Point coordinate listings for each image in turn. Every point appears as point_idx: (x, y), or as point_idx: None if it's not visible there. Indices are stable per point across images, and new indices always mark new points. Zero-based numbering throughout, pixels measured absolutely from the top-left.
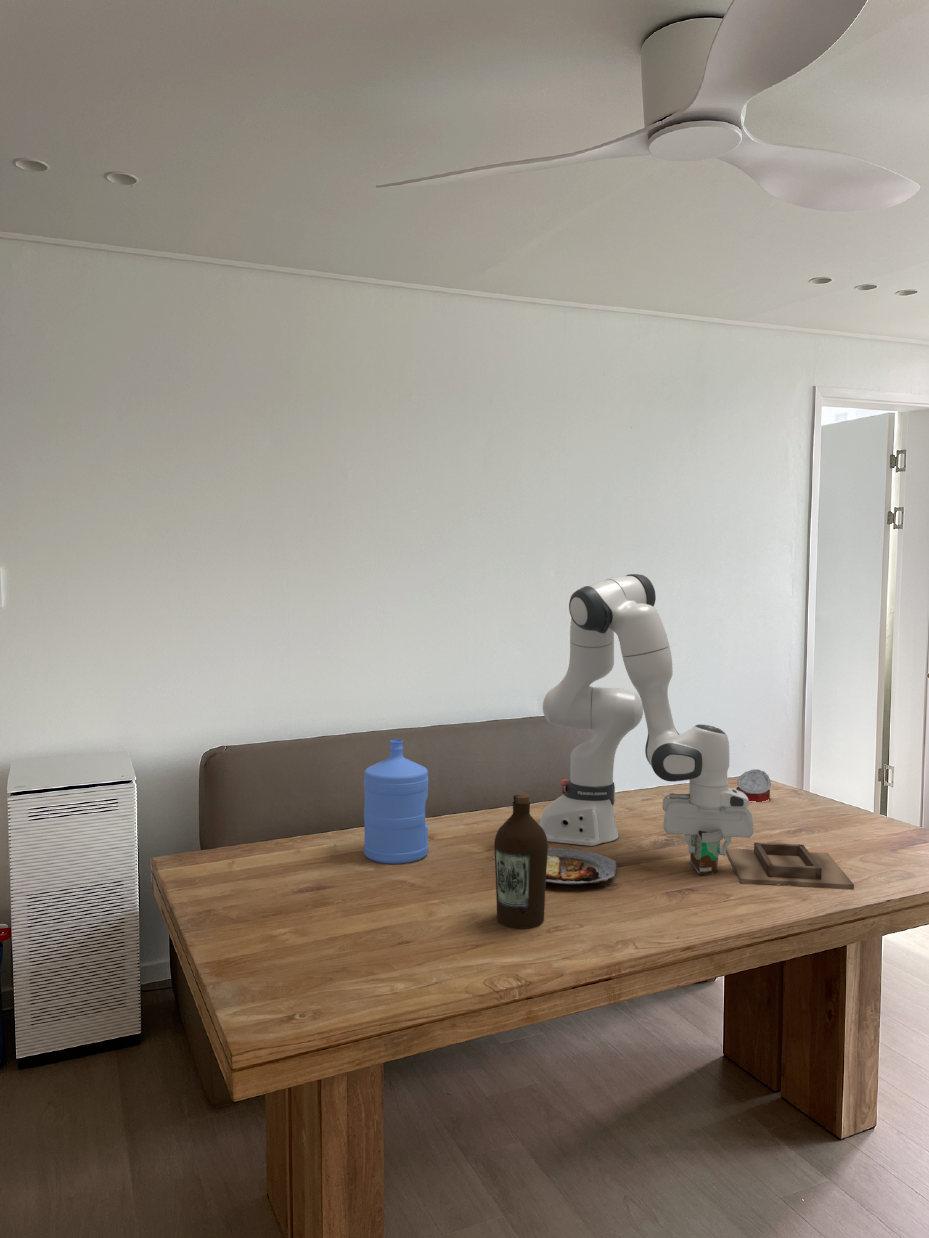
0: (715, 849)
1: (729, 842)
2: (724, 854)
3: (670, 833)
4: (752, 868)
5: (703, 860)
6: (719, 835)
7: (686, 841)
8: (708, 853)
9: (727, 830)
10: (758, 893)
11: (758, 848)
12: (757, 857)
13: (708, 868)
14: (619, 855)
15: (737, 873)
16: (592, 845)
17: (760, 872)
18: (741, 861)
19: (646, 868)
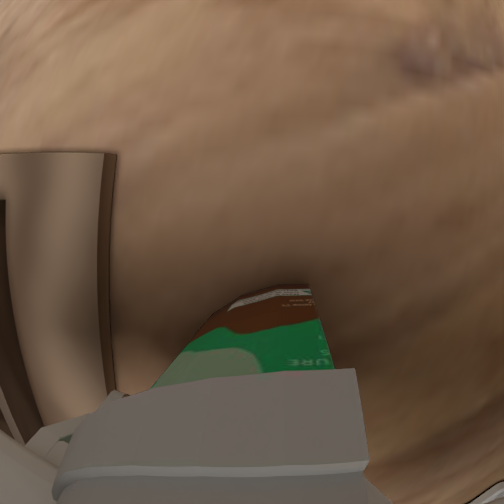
0: (164, 380)
1: (53, 427)
2: (119, 392)
3: (495, 500)
4: (40, 310)
5: (291, 312)
6: (65, 462)
7: (375, 488)
8: (244, 341)
9: (9, 486)
10: (93, 38)
11: (12, 419)
12: (34, 404)
13: (250, 300)
14: (487, 453)
15: (100, 261)
16: (497, 484)
17: (19, 256)
18: (76, 393)
19: (494, 360)
